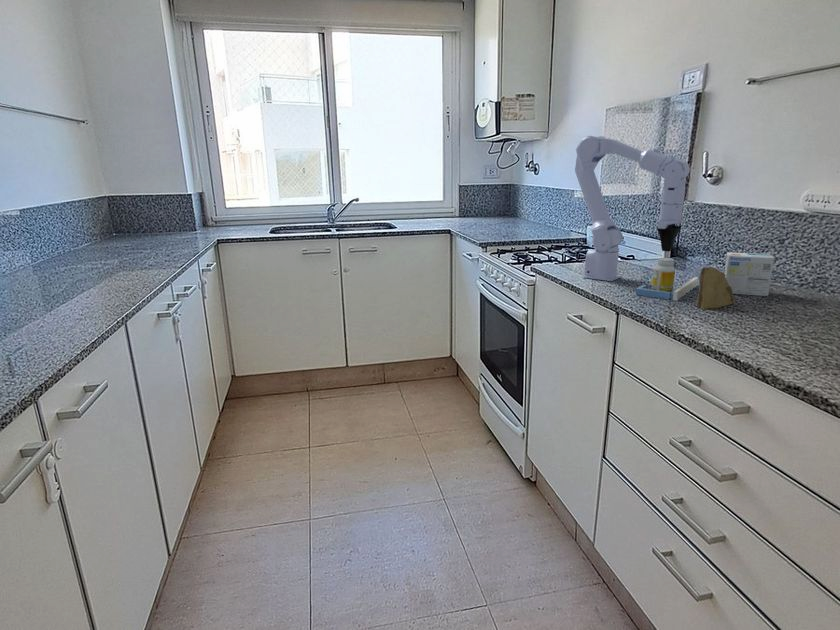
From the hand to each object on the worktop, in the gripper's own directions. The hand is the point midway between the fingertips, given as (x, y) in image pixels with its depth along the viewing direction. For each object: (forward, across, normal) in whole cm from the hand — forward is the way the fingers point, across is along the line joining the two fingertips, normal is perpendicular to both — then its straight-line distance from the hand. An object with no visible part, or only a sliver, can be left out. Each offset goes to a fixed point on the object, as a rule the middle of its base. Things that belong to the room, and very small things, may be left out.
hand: (666, 250), depth 149 cm
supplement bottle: (+10, -9, -3) cm, 14 cm away
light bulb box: (+10, +4, -20) cm, 23 cm away
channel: (+10, -6, -2) cm, 12 cm away
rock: (+10, -15, -18) cm, 25 cm away
